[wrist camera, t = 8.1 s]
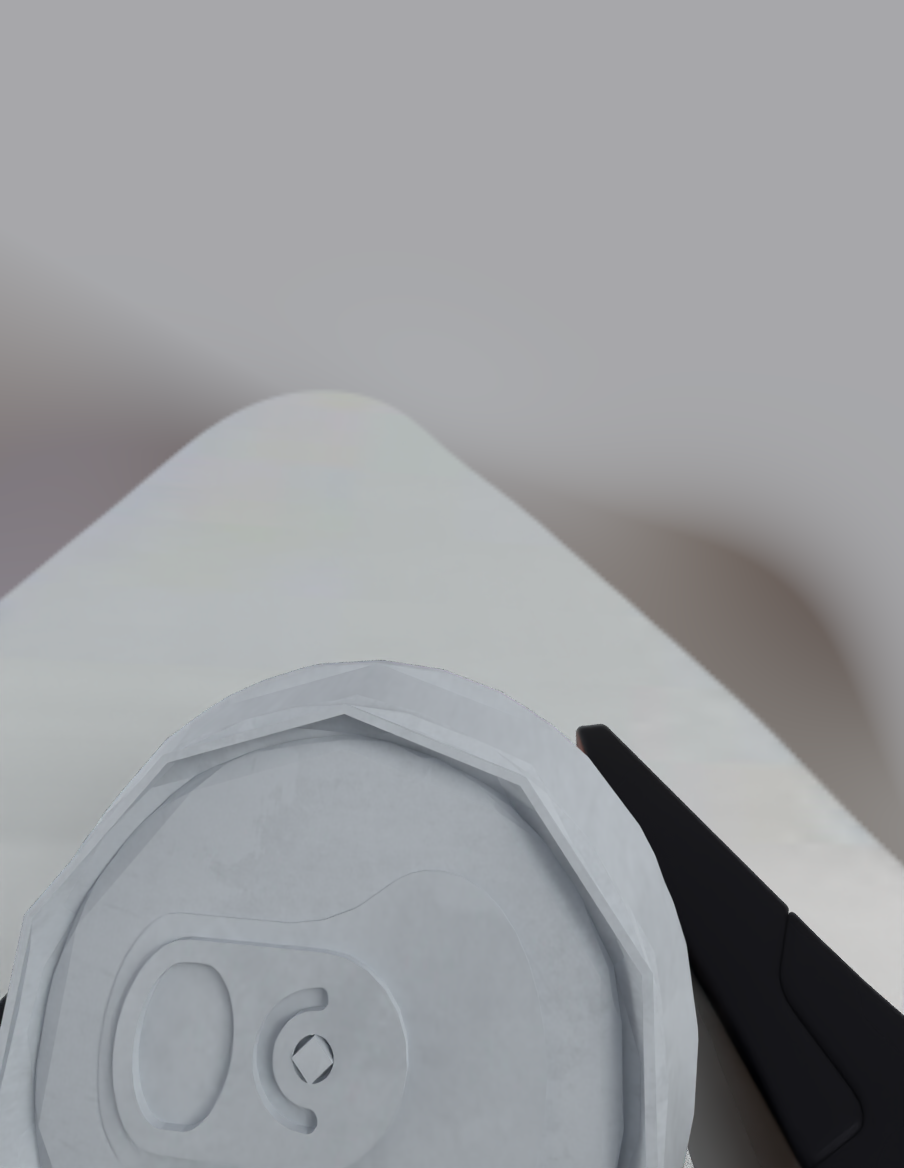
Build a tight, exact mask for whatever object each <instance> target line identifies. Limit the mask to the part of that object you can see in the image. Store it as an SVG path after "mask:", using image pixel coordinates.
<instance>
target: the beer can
mask: <svg viewBox="0 0 904 1168" xmlns="http://www.w3.org/2000/svg"><path fill="white" fill-rule="evenodd" d="M697 1055H698V1025H697V1018H696V1010H695V1003H694V996H693V988H692V981H691V974H690V967H689V959H688V952H687V945H686V941H685V938H684V935H683V932H682V928H681V925H680V922H679V919H678V915H677V912H676V909H675V906H674V902H673V900H672V898H671V895H670V893H669V891H668V889H667V886H666V884H665V882H664V879H663V876H662V873H661V870H660V868H659V865H658V862H657V859H656V856H655V854H654V852H653V850H652V848H651V846H650V844H649V842H648V841H647V839H646V837H645V835H644V833H643V831H642V829H641V827H640V825H639V824H638V823H637V821H636V820H635V819H634V817H633V816H632V815H631V813H630V812H629V811H628V809H627V808H626V807H625V805H624V804H623V803H622V801H621V800H620V799H619V797H618V796H617V795H616V793H615V792H614V791H613V789H612V788H611V787H610V785H609V784H608V783H607V781H606V780H605V779H604V777H603V776H602V775H601V773H600V772H599V771H598V769H597V768H596V767H595V765H594V764H593V763H592V761H591V760H590V759H589V757H588V756H586V755H585V754H584V753H583V752H582V751H581V750H580V749H579V748H578V747H577V746H576V745H574V744H573V743H572V742H571V741H570V740H569V739H568V738H567V737H566V736H565V735H564V734H563V733H561V732H560V731H559V730H558V729H557V728H556V727H555V726H554V725H552V724H551V723H549V722H547V721H546V720H544V719H543V718H541V717H540V716H538V715H537V714H536V713H535V712H533V711H532V710H530V709H528V708H527V707H525V706H524V705H522V704H520V703H519V702H517V701H516V700H514V699H512V698H511V697H509V696H508V695H506V694H504V693H503V692H501V691H498V690H496V689H493V688H491V687H488V686H485V685H483V684H480V683H478V682H475V681H473V680H470V679H467V678H465V677H462V676H460V675H457V674H454V673H452V672H449V671H447V670H444V669H438V668H432V667H425V666H419V665H412V664H406V663H399V662H393V661H386V660H374V661H357V662H340V663H324V664H317V665H313V666H309V667H304V668H301V669H298V670H294V671H291V672H288V673H285V674H282V675H278V676H275V677H272V678H269V679H265V680H263V681H261V682H258V683H256V684H254V685H252V686H249V687H247V688H245V689H243V690H241V691H238V692H236V693H234V694H232V695H230V696H228V697H226V698H225V699H223V700H221V701H220V702H218V703H217V704H215V705H213V706H212V707H210V708H209V709H207V710H205V711H204V712H203V713H201V714H200V715H198V716H197V717H196V718H194V719H193V720H192V721H190V722H189V723H188V724H186V725H185V726H184V727H182V728H181V729H180V730H178V731H177V732H176V733H174V734H173V735H172V736H170V737H169V738H168V739H166V740H165V741H164V743H163V744H162V745H161V746H160V747H159V748H158V750H157V751H156V752H155V753H154V754H153V755H152V757H151V758H150V759H149V760H148V761H147V762H146V764H145V765H144V766H143V767H142V768H141V769H140V771H139V772H138V773H137V774H136V775H135V776H134V777H133V779H132V780H131V781H130V782H129V783H128V784H127V786H126V787H125V788H124V789H123V790H122V792H121V793H120V794H119V795H118V797H117V798H116V799H115V800H114V801H113V803H112V804H111V805H110V806H109V808H108V809H107V810H106V811H105V813H104V814H103V815H102V817H101V819H100V820H99V822H98V823H97V825H96V827H95V828H94V829H93V830H92V831H91V833H90V834H89V835H88V836H87V838H86V839H85V841H84V842H83V844H82V845H81V847H80V848H79V850H78V851H77V853H76V854H75V856H74V857H73V859H72V860H71V861H70V862H69V864H68V865H67V866H66V867H65V868H64V869H63V870H62V872H61V873H60V874H59V875H58V876H57V877H56V879H55V880H54V881H53V882H52V883H51V884H50V885H49V887H48V888H47V889H46V890H45V891H44V892H43V893H42V895H41V896H40V897H39V898H38V899H37V900H36V902H35V903H34V904H33V905H32V906H31V907H30V908H29V910H28V911H27V912H26V913H25V914H24V919H23V923H22V928H21V933H20V938H19V942H18V947H17V952H16V956H15V961H14V966H13V971H12V975H11V980H10V985H9V989H8V994H7V999H6V1004H5V1008H4V1013H3V1018H2V1022H1V1027H0V1168H683V1167H684V1162H685V1157H686V1152H687V1147H688V1142H689V1137H690V1132H691V1127H692V1122H693V1117H694V1107H695V1089H696V1072H697Z"/></svg>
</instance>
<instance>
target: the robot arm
mask: <svg viewBox="0 0 904 1168" xmlns="http://www.w3.org/2000/svg"><path fill="white" fill-rule="evenodd" d="M576 742H577V747H578V748H579V749H580V750H581V751H582V752H583V753H584V754H585V755H586V756H588V757H589V759H590V760H591V761H592V763H593V764H594V765H595V767H596V768H597V769H598V771H599V772H600V773H601V775H602V776H603V777H604V779H605V780H606V781H607V783H608V784H609V785H610V787H611V788H612V789H613V791H614V792H615V793H616V795H617V796H618V797H619V799H620V800H621V801H622V803H623V804H624V805H625V807H626V808H627V809H628V811H629V812H630V813H631V815H632V816H633V817H634V819H635V820H636V821H637V823H638V824H639V825H640V827H641V829H642V831H643V833H644V835H645V837H646V839H647V841H648V842H649V844H650V846H651V848H652V850H653V852H654V854H655V856H656V859H657V862H658V865H659V868H660V870H661V873H662V876H663V879H664V882H665V884H666V886H667V889H668V891H669V893H670V895H671V898H672V900H673V902H674V906H675V909H676V912H677V915H678V919H679V922H680V925H681V928H682V932H683V935H684V938H685V941H686V945H687V952H688V959H689V967H690V974H691V981H692V988H693V996H694V1003H695V1010H696V1018H697V1025H698V1055H697V1072H696V1089H695V1107H694V1117H693V1122H692V1127H691V1132H690V1137H689V1142H688V1150H689V1154H690V1157H691V1160H692V1163H693V1166H694V1168H904V1015H903V1014H902V1013H900V1012H899V1011H898V1010H897V1009H896V1008H895V1007H894V1006H892V1005H891V1004H890V1003H889V1002H888V1001H887V1000H886V999H884V998H883V997H882V996H881V995H880V994H879V993H878V992H876V991H875V990H874V989H873V988H872V987H871V986H870V985H869V984H867V983H866V982H865V981H864V980H863V979H862V978H861V977H860V976H859V975H858V974H857V973H856V972H855V971H854V970H852V969H851V968H850V967H849V966H848V965H847V964H846V963H845V962H844V961H843V960H842V959H841V958H840V957H839V956H838V955H837V954H836V953H835V952H834V951H833V950H832V949H830V948H829V947H828V946H827V945H826V944H825V943H824V942H823V941H822V940H821V939H820V938H819V937H818V936H817V935H816V934H815V933H814V932H813V931H812V930H811V929H810V928H809V927H808V926H807V925H806V924H805V923H804V922H803V921H802V920H801V919H800V918H799V917H798V916H797V915H796V914H795V913H793V912H790V913H789V914H788V911H789V909H788V907H787V905H786V904H785V903H784V902H783V901H782V900H781V899H780V898H779V897H778V896H777V895H776V894H775V893H774V892H773V891H772V890H771V889H770V888H769V887H768V886H767V885H766V884H765V883H764V882H763V881H762V880H761V879H760V878H759V877H758V876H757V875H756V874H755V873H754V872H753V871H752V870H751V869H750V868H749V867H748V866H747V865H746V864H745V863H744V862H743V861H742V860H741V859H740V858H739V857H738V856H737V855H736V854H735V853H734V852H733V851H732V850H731V849H730V848H729V847H728V846H727V845H726V844H725V843H724V842H723V841H721V840H720V839H719V838H718V837H717V836H716V835H715V834H714V833H713V832H712V831H711V830H710V829H709V828H708V827H707V826H706V825H705V824H704V823H703V822H702V821H701V820H700V819H699V818H698V817H697V816H696V815H695V814H694V813H693V812H692V811H691V810H690V809H689V808H688V807H687V806H686V805H685V804H684V803H683V802H682V801H681V800H680V799H679V798H678V797H677V796H676V795H675V794H674V793H673V792H672V791H671V790H670V789H669V788H668V787H667V786H666V785H665V784H664V783H663V782H662V781H661V780H660V779H659V778H658V777H657V776H656V775H655V774H654V773H653V772H652V771H651V770H650V769H649V768H648V767H647V766H646V765H645V764H644V763H643V762H642V761H641V760H640V759H639V758H638V757H637V756H636V755H635V754H634V753H633V752H632V751H631V750H630V749H629V748H628V747H627V746H626V745H625V744H624V743H623V742H622V741H621V740H620V739H619V738H618V737H617V736H616V735H615V734H614V733H613V732H612V731H611V730H610V729H609V728H608V727H607V726H605V725H603V724H597V725H588V726H580V727H579V728H578V729H577V731H576ZM7 994H8V993H7ZM7 994H6V995H5V996H4V997H3V998H2V999H1V1000H0V1027H1V1022H2V1018H3V1013H4V1008H5V1004H6V999H7Z"/></svg>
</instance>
